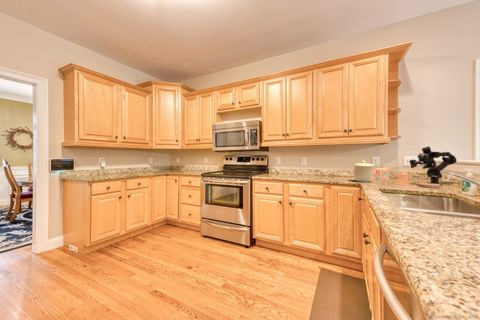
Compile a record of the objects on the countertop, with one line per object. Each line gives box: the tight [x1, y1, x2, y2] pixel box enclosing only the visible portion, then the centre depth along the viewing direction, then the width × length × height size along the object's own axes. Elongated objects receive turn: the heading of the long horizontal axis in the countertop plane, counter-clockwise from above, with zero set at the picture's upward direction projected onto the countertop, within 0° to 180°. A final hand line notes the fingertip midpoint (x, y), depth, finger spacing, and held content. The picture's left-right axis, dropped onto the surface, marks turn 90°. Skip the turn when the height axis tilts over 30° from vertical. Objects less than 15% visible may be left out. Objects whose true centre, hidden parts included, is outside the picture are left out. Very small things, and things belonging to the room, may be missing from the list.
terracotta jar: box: [395, 172, 411, 186], centre depth 186 cm, size 7×7×10 cm
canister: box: [353, 160, 375, 183], centre depth 208 cm, size 18×18×21 cm
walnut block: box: [417, 182, 442, 190], centre depth 172 cm, size 12×12×3 cm
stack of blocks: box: [371, 167, 390, 181], centre depth 222 cm, size 21×6×12 cm, turn 75°
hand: (416, 167), depth 181 cm, fingers open, 9 cm apart
